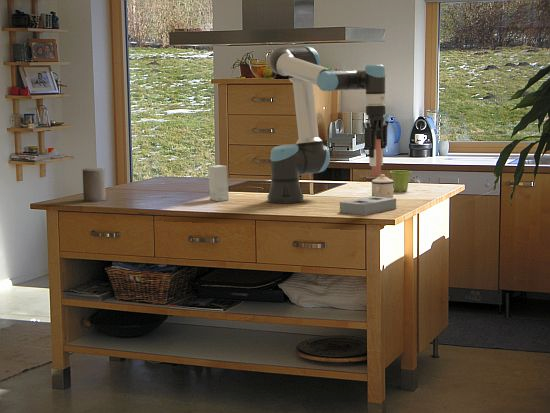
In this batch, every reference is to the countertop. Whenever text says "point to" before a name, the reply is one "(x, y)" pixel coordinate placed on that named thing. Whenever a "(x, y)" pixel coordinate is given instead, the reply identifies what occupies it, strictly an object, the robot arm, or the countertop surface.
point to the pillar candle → (94, 184)
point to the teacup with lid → (382, 187)
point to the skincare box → (218, 183)
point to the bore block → (367, 205)
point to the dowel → (377, 159)
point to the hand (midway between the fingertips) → (376, 165)
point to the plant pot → (400, 180)
